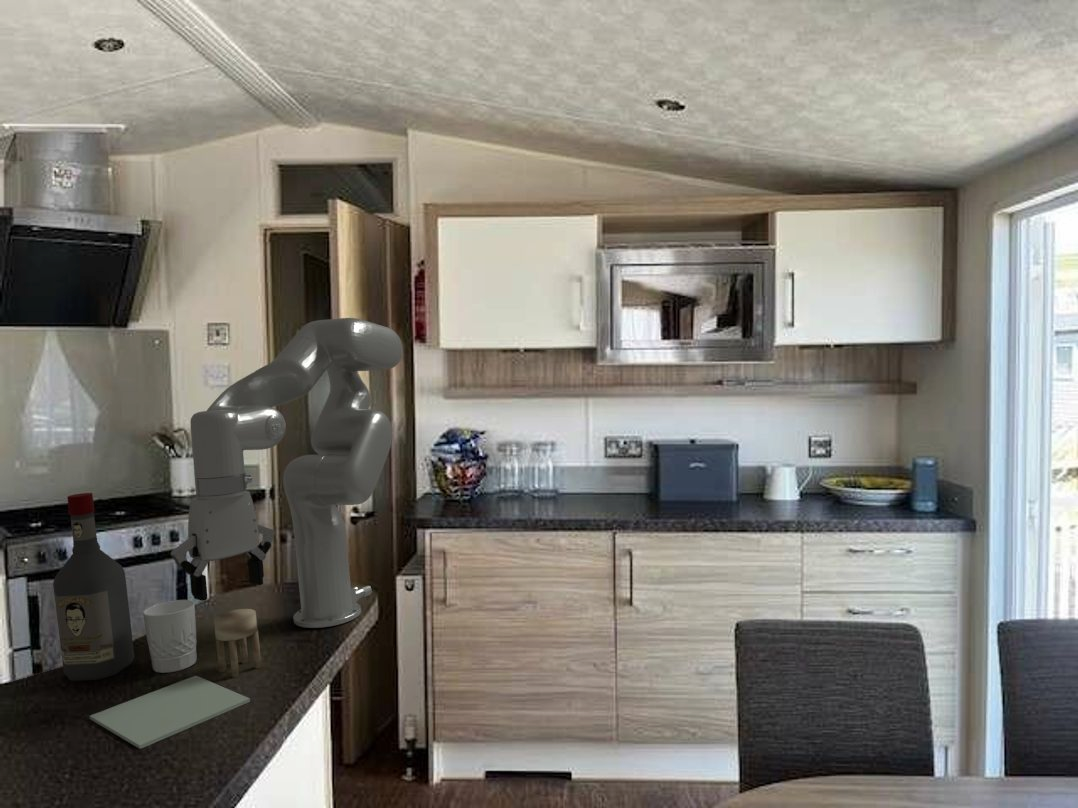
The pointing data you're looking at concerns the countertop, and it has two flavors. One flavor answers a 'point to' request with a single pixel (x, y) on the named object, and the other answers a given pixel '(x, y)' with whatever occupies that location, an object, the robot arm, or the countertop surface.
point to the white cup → (171, 635)
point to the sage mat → (168, 711)
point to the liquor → (91, 603)
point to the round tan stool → (236, 637)
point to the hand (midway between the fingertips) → (229, 591)
